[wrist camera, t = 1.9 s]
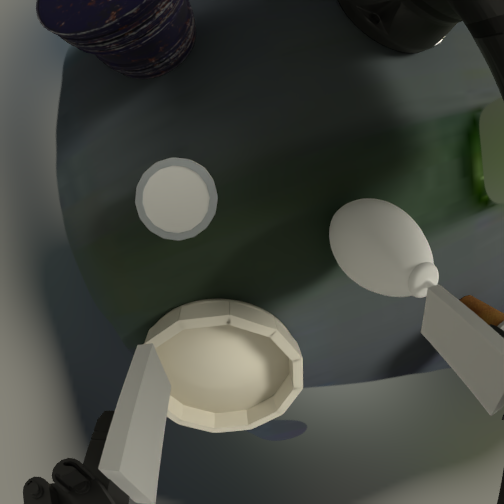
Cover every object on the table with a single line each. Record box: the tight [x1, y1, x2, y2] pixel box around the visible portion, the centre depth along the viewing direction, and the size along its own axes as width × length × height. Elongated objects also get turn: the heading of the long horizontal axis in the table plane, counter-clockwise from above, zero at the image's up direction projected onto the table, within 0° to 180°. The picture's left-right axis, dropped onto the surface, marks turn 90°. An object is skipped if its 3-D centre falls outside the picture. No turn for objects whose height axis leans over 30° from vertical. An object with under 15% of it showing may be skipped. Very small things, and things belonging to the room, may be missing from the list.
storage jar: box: [36, 0, 196, 79], centre depth 17 cm, size 10×10×15 cm
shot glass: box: [135, 157, 218, 241], centre depth 26 cm, size 7×7×7 cm
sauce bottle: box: [329, 198, 439, 298], centre depth 24 cm, size 8×8×18 cm
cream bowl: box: [144, 298, 303, 433], centre depth 36 cm, size 20×20×4 cm
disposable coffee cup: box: [459, 295, 504, 331], centre depth 34 cm, size 10×10×12 cm
